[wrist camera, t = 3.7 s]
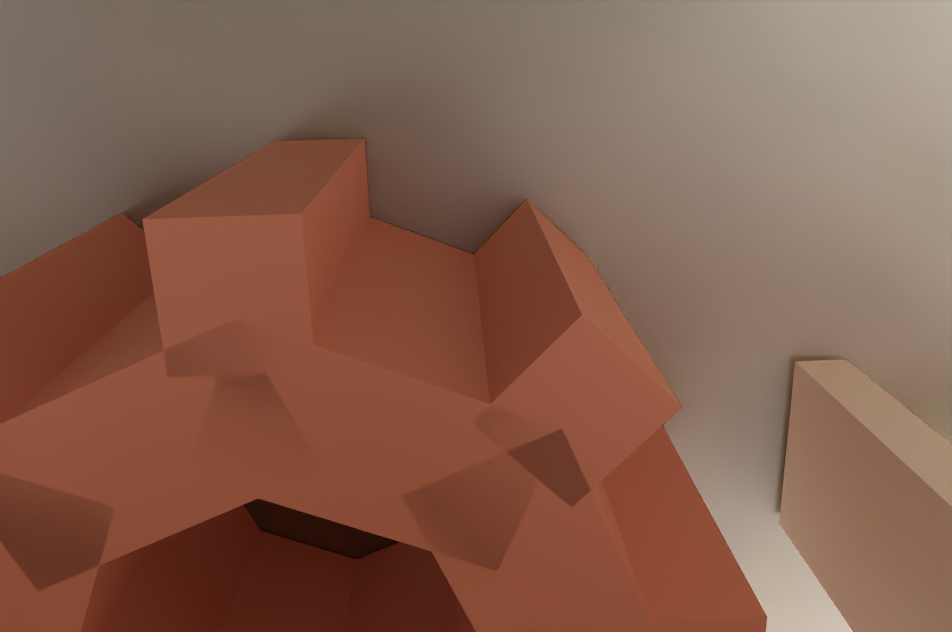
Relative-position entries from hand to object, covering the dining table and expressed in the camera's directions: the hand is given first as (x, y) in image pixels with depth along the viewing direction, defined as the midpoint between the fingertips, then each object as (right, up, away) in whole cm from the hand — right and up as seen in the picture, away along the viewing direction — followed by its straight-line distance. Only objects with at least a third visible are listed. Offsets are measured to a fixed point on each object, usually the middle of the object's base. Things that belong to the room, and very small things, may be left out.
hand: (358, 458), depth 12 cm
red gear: (0, 0, 0) cm, 0 cm away
